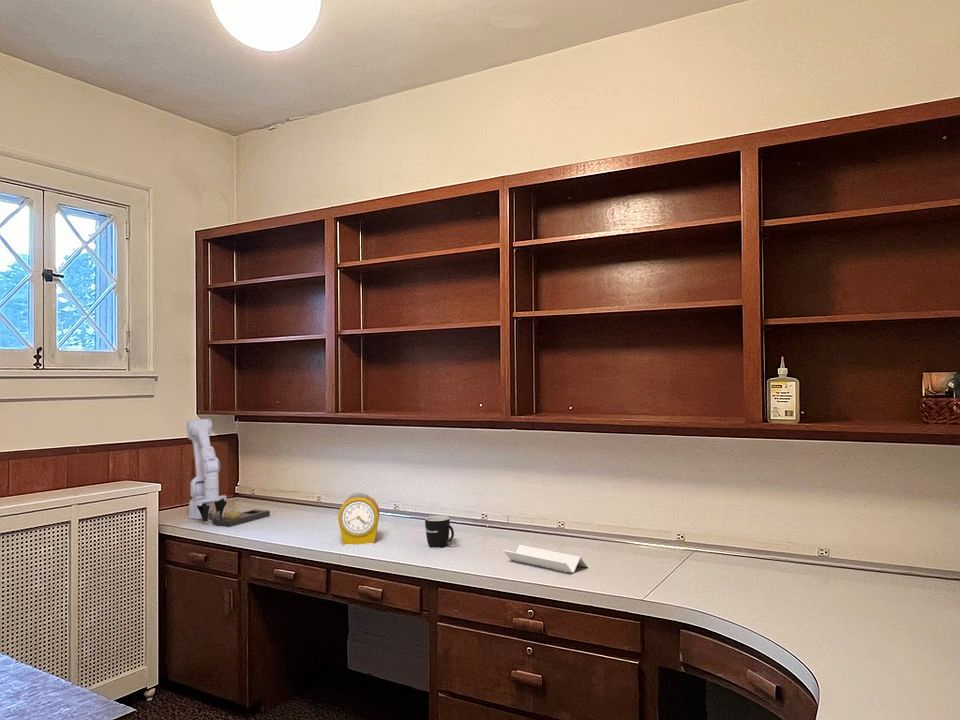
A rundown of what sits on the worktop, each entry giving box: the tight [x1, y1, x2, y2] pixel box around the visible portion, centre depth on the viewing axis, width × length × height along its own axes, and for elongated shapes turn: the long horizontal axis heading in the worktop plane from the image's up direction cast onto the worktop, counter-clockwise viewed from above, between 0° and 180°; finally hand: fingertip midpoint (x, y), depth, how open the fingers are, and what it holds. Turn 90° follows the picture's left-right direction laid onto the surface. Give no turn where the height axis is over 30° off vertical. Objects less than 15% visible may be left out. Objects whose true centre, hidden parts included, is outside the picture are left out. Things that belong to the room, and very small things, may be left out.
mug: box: [424, 515, 455, 548], centre depth 267 cm, size 12×9×10 cm
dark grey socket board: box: [213, 508, 271, 528], centre depth 320 cm, size 9×24×2 cm, turn 153°
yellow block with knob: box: [223, 510, 241, 520], centre depth 314 cm, size 4×4×5 cm
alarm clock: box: [337, 492, 380, 546], centre depth 277 cm, size 15×8×18 cm, turn 95°
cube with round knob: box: [203, 509, 220, 525], centre depth 316 cm, size 4×4×5 cm
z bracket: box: [502, 544, 589, 574], centre depth 240 cm, size 12×25×6 cm
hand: (212, 519), depth 316 cm, fingers open, 7 cm apart
